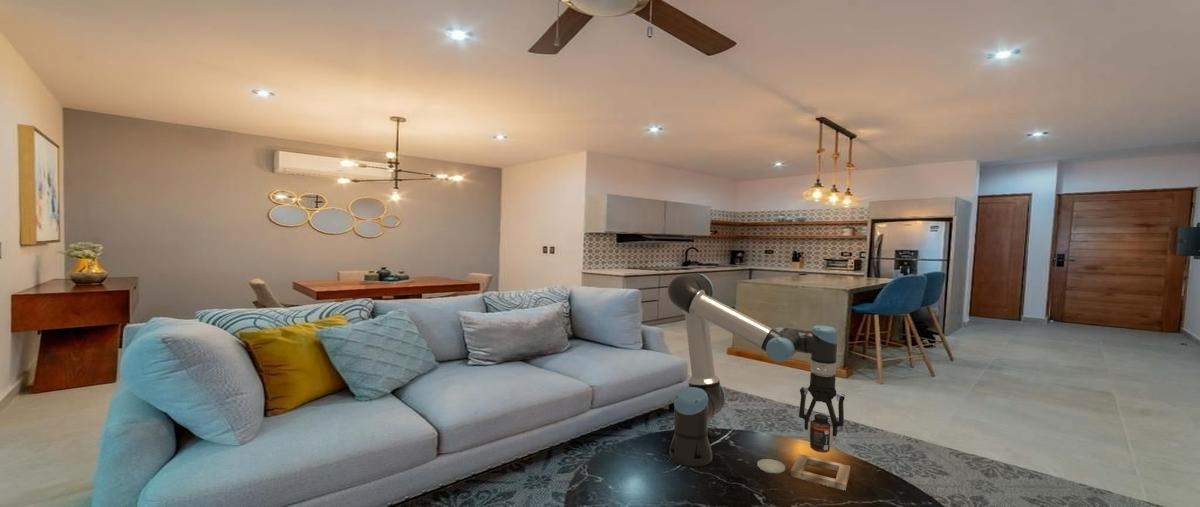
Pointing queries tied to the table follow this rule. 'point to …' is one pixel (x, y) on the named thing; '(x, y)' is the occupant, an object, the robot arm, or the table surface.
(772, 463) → the cream flat disc
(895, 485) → the table surface
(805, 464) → the oak holder
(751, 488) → the table surface
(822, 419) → the supplement bottle
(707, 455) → the robot arm
